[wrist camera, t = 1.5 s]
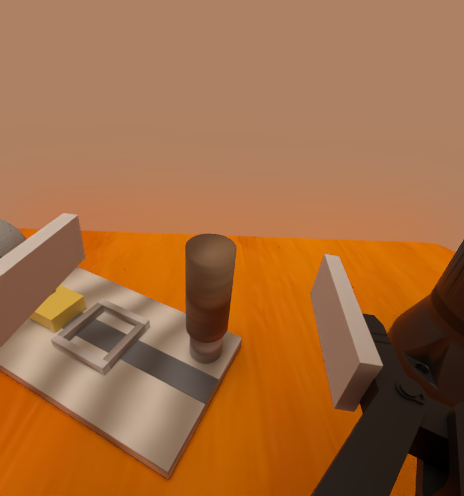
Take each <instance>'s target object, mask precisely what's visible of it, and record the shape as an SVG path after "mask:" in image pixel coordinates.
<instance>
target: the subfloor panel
mask: <svg viewBox="0 0 464 496" xmlns="http://www.w3.org/2000/svg"><path fill="white" fill-rule="evenodd" d="M60 285H61V286H63V287H65V288H67V289H70V290H72V291H74V292H76V293H78V294H80V295H82V296H84V299H85V303H86V307H87V308H86V309H85V310H83V311H82V312H81V313H80V314H78V315H77V316H76V317H74V318H73V319H72V320H71V321H69V322H68V323H67V324H66V325H64V326H63V327H62V328H60V329H59V330H58V331H57V332H54V331H52V330H50V329H48V328H47V327H45V326H43V325H41V324H39V323H37V322H35V321H34V320H32V319H30V318H28V319H27V320H26V321H25V322H24V323H23V324H22V326H21V327H20V328H19V329H18V330H17V331H16V332H15V333H14V334H13V335H12V336H11V337H10V338H9V339H8V340H7V341H6V342H5V344H4V345H3V346H2V347H1V348H0V370H1V371H2V372H4V373H5V374H7V375H8V376H10V377H11V378H13V379H15V380H16V381H18V382H19V383H21V384H22V385H24V386H25V387H27V388H28V389H30V390H31V391H33V392H35V393H36V394H38V395H39V396H41V397H42V398H44V399H45V400H47V401H48V402H50V403H51V404H53V405H55V406H56V407H58V408H59V409H61V410H62V411H64V412H65V413H67V414H68V415H70V416H72V417H73V418H75V419H76V420H78V421H79V422H81V423H82V424H84V425H85V426H87V427H88V428H90V429H92V430H93V431H95V432H96V433H98V434H99V435H101V436H102V437H104V438H105V439H107V440H108V441H110V442H112V443H113V444H115V445H116V446H118V447H119V448H121V449H122V450H124V451H125V452H127V453H128V454H130V455H132V456H133V457H135V458H136V459H138V460H139V461H141V462H142V463H144V464H145V465H147V466H148V467H150V468H152V469H153V470H155V471H156V472H158V473H159V474H161V475H162V476H164V477H165V478H167V479H169V478H170V476H171V474H172V472H173V470H174V468H175V467H176V465H177V463H178V461H179V459H180V457H181V455H182V454H183V452H184V450H185V448H186V446H187V444H188V443H189V441H190V439H191V437H192V435H193V433H194V431H195V430H196V428H197V426H198V424H199V422H200V420H201V419H202V417H203V415H204V413H205V411H206V409H207V407H208V406H209V404H210V402H211V400H212V398H213V396H214V395H215V393H216V391H217V389H218V387H219V385H220V383H221V382H222V380H223V378H224V376H225V374H226V372H227V371H228V369H229V367H230V365H231V363H232V361H233V359H234V358H235V356H236V354H237V352H238V350H239V348H240V347H241V341H242V338H241V337H239V336H236V335H234V334H232V333H230V332H226V334H225V335H224V336H223V341H222V351H221V355H220V357H219V358H218V359H217V360H216V361H214V362H212V363H207V364H203V363H199V362H197V361H195V360H194V359H193V358H192V357H191V355H190V336H189V334H188V333H187V330H186V314H185V313H183V312H181V311H178V310H176V309H174V308H171V307H169V306H167V305H165V304H162V303H160V302H158V301H155V300H153V299H151V298H148V297H146V296H144V295H141V294H139V293H137V292H134V291H132V290H130V289H127V288H125V287H123V286H120V285H118V284H116V283H113V282H111V281H109V280H106V279H104V278H102V277H100V276H97V275H95V274H93V273H90V272H88V271H86V270H83V269H81V268H79V267H76V268H75V269H74V271H73V272H72V273H71V274H70V275H69V276H68V277H67V278H66V279H65V280H64V281H63V282H62V283H61V284H60Z"/></svg>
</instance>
